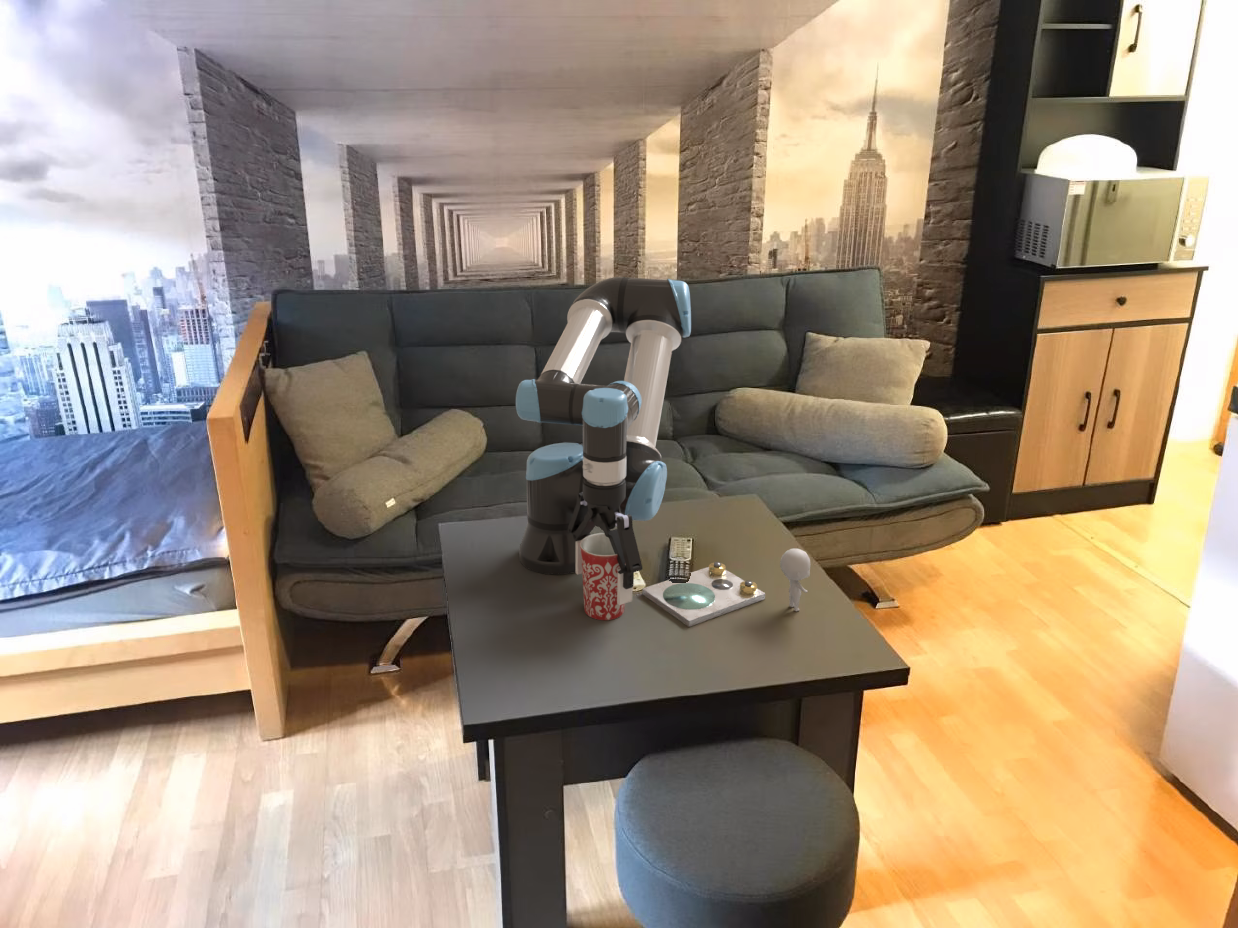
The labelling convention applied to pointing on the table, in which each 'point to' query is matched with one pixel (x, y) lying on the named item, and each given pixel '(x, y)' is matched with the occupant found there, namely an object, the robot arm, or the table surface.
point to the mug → (600, 578)
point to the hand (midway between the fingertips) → (603, 586)
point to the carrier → (704, 594)
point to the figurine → (795, 573)
